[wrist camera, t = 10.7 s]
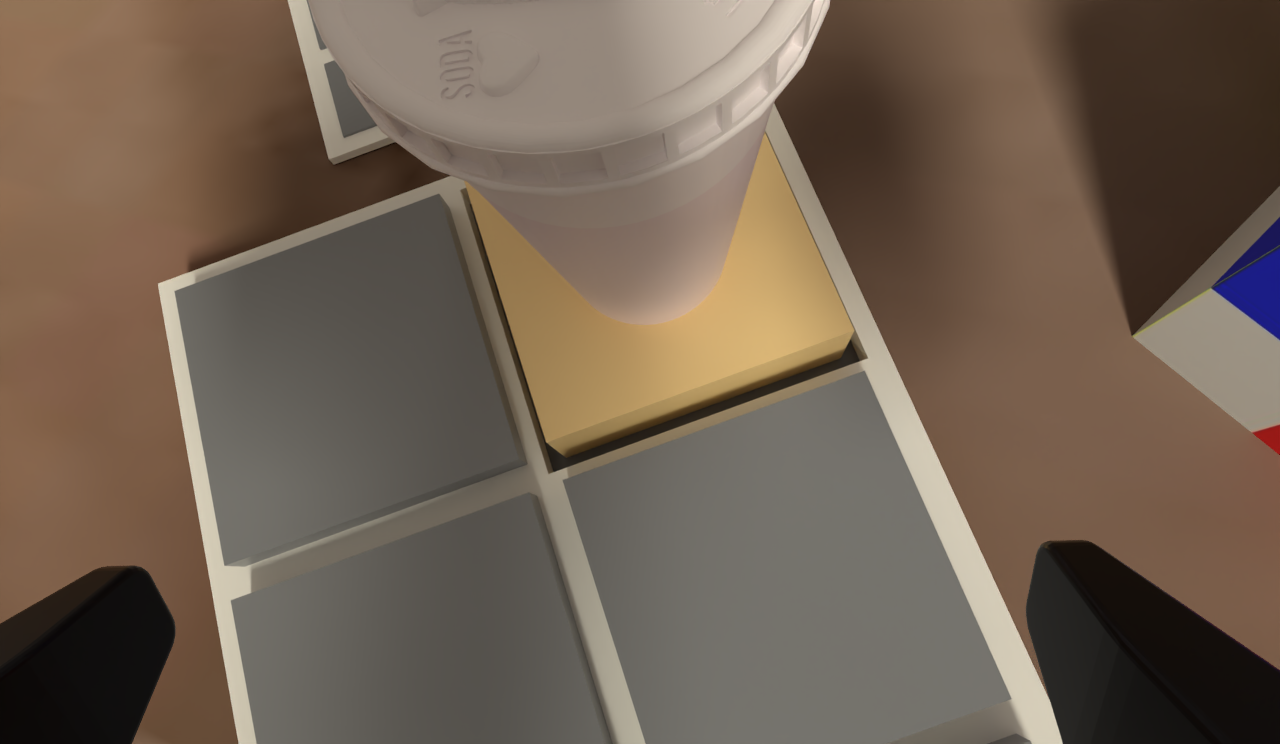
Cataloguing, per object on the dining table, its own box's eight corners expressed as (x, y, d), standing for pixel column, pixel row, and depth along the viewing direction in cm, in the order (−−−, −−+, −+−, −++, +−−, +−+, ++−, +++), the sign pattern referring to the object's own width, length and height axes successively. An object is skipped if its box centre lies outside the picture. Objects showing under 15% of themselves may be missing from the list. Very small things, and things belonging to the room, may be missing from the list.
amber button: (840, 358, 19) (854, 330, 17) (565, 457, 19) (546, 442, 17) (735, 120, 21) (736, 69, 19) (487, 211, 21) (461, 170, 19)
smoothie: (840, 294, 18) (1208, -666, 4) (588, 435, 17) (93, -85, 4) (697, 83, 19) (625, -1068, 6) (467, 208, 19) (-157, -684, 6)
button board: (1233, 1145, 15) (1308, 1227, 13) (399, 1433, 15) (351, 1555, 13) (754, 90, 22) (756, 43, 20) (187, 299, 22) (136, 272, 20)
